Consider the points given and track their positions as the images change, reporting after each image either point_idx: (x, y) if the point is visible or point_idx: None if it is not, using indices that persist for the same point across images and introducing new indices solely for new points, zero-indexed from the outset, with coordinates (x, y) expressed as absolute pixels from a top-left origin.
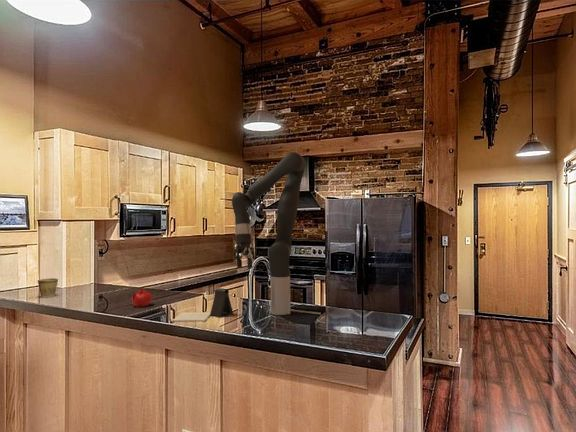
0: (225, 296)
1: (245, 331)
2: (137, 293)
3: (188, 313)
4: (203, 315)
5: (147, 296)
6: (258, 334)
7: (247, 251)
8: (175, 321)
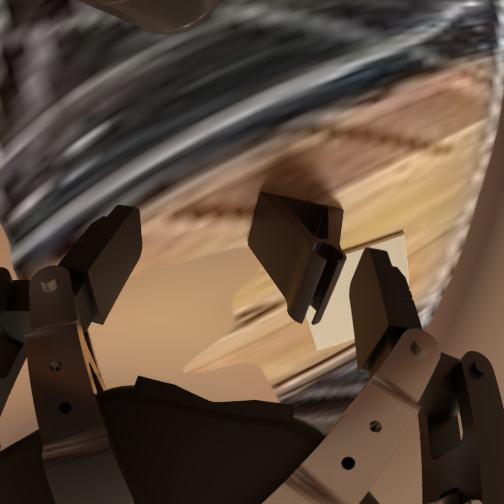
0: (330, 242)
1: (478, 48)
2: None
3: (326, 329)
4: (344, 273)
5: None
6: (488, 6)
7: (131, 458)
8: None
